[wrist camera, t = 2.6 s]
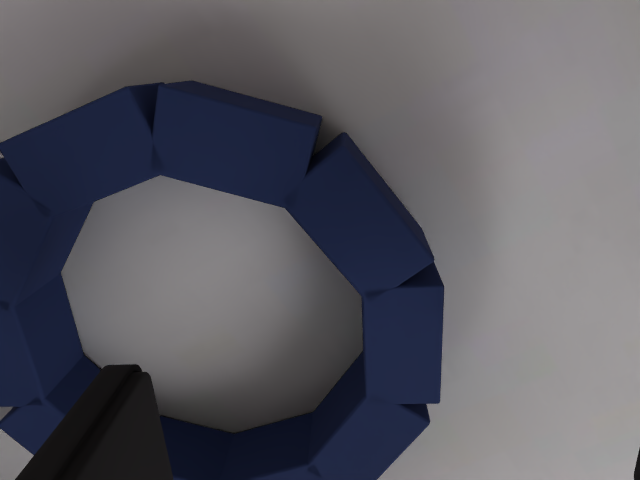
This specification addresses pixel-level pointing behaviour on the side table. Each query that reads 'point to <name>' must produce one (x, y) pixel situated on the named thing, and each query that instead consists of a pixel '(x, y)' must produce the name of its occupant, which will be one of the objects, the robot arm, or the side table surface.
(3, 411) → the gravestone
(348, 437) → the cap ring
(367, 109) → the side table surface
